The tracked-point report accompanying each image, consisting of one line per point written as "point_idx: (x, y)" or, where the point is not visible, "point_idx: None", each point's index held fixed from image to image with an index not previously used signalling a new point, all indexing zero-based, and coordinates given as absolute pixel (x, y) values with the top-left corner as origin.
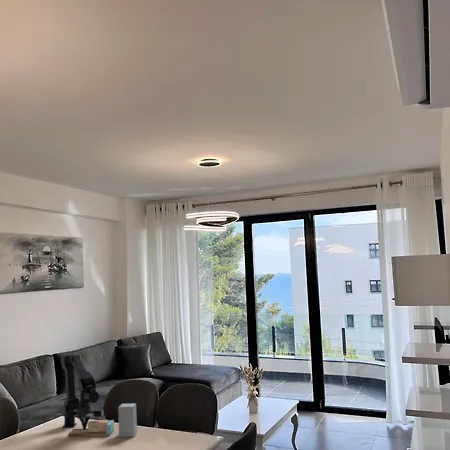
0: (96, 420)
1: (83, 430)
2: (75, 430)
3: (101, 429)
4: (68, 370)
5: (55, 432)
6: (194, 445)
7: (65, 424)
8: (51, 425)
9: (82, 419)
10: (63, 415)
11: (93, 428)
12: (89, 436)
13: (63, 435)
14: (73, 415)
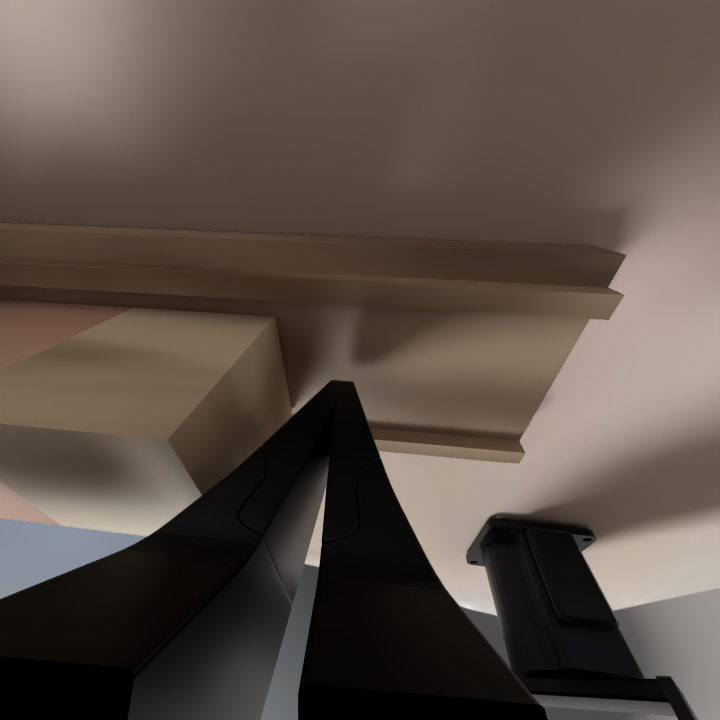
0: (109, 527)
1: (372, 414)
2: (477, 429)
3: (27, 323)
4: None
5: (707, 450)
6: None
7: (583, 556)
8: (661, 571)
9: (330, 603)
10: (684, 700)
11: (143, 342)
12: (233, 232)
13: (647, 337)
14: (534, 666)
